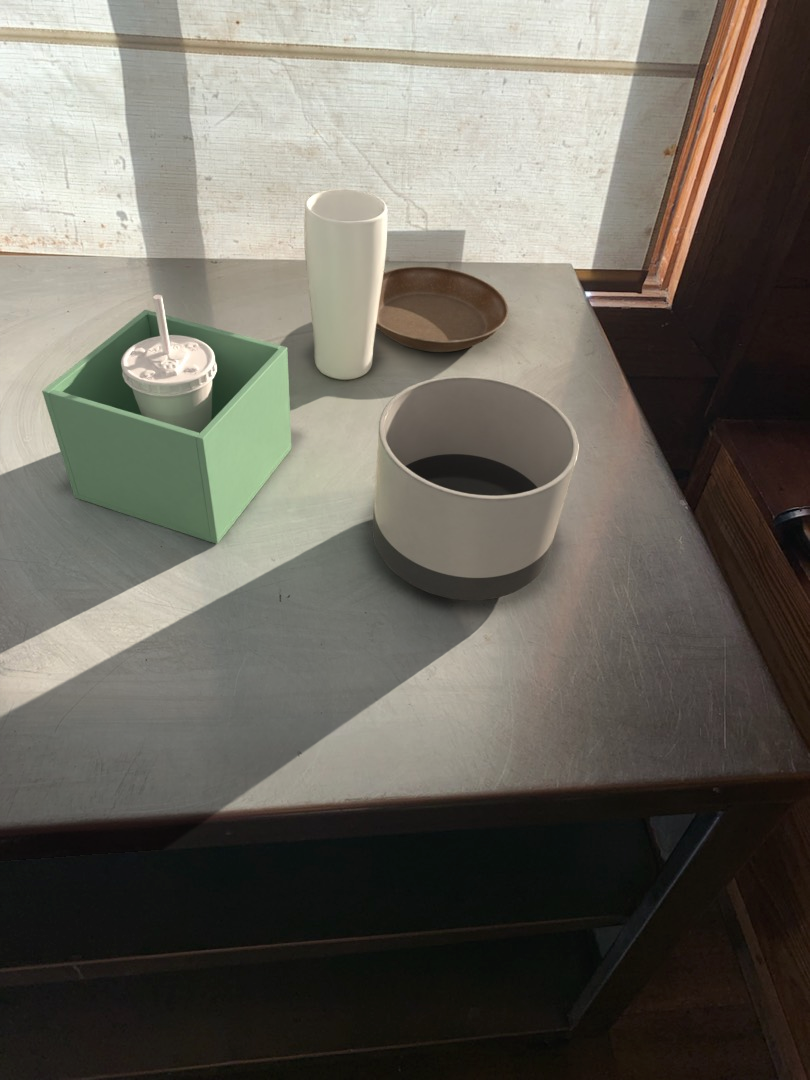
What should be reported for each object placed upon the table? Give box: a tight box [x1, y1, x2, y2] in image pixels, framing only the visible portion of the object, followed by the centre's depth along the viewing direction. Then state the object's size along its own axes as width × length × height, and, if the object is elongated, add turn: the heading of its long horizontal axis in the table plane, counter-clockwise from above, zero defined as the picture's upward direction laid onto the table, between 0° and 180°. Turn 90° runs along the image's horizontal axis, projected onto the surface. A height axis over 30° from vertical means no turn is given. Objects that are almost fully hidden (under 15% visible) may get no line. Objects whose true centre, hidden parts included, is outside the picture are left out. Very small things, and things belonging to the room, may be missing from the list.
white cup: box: [303, 188, 388, 381], centre depth 68 cm, size 7×7×15 cm
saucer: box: [376, 265, 509, 353], centre depth 79 cm, size 15×15×3 cm
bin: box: [42, 309, 292, 545], centre depth 58 cm, size 12×12×10 cm
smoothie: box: [121, 294, 217, 433], centre depth 56 cm, size 6×6×14 cm
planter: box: [372, 375, 579, 601], centre depth 54 cm, size 13×13×10 cm
